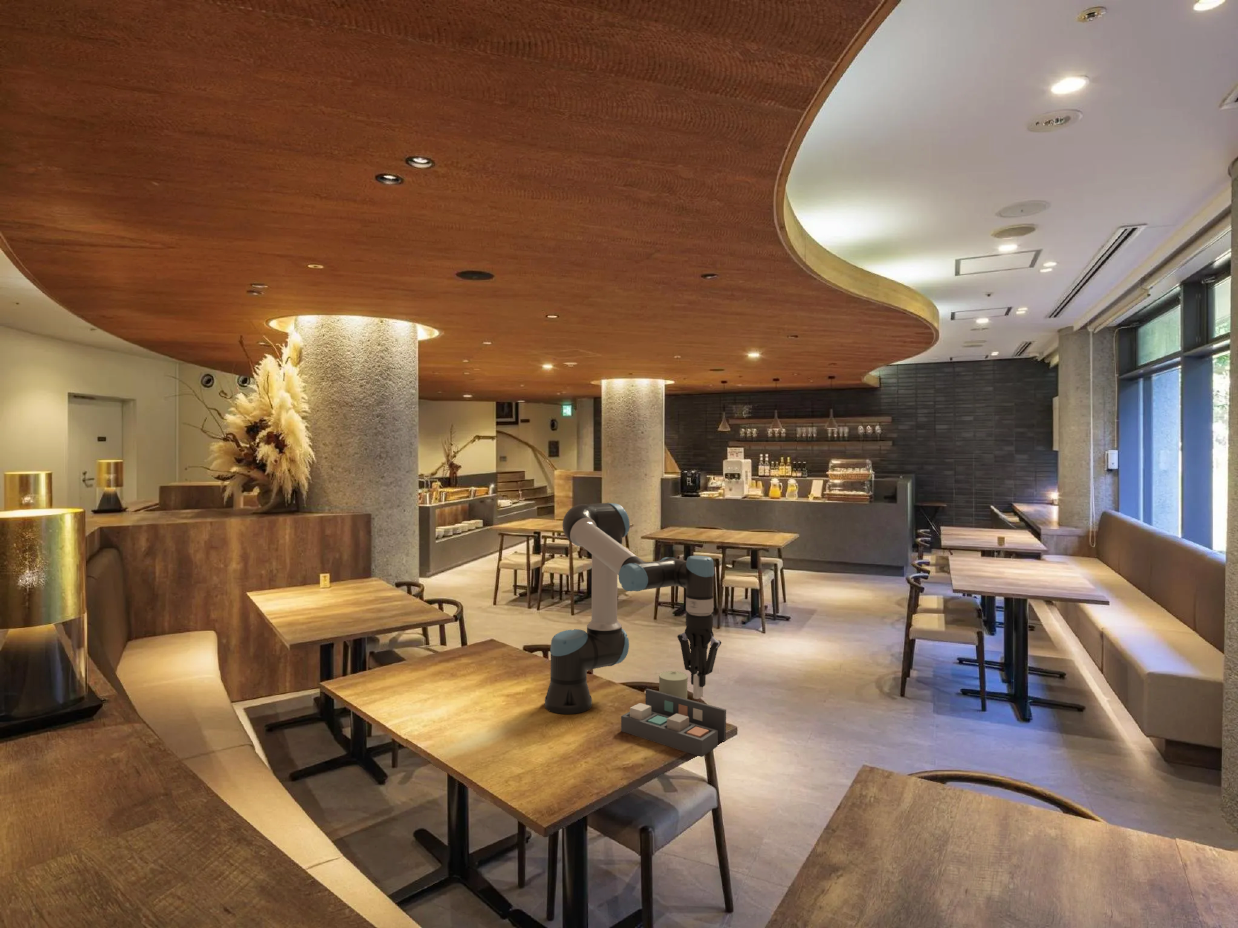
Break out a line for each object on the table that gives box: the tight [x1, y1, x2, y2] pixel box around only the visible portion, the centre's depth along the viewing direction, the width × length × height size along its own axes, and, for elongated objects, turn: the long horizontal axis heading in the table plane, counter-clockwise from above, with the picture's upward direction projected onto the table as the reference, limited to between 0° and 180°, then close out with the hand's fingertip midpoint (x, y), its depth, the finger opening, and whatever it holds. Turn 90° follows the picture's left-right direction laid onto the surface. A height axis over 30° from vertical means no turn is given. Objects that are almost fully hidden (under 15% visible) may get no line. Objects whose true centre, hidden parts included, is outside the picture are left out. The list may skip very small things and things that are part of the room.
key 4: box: [687, 727, 709, 738], centre depth 190 cm, size 4×5×4 cm
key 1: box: [629, 702, 651, 720], centre depth 202 cm, size 4×5×4 cm
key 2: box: [648, 715, 667, 726], centre depth 198 cm, size 4×5×4 cm
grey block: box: [667, 713, 689, 732], centre depth 194 cm, size 4×5×4 cm
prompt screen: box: [644, 688, 727, 743], centre depth 202 cm, size 27×1×9 cm, turn 53°
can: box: [658, 670, 689, 699], centre depth 216 cm, size 9×9×12 cm
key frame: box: [620, 711, 719, 758], centre depth 196 cm, size 27×9×4 cm, turn 53°
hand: (697, 697), depth 190 cm, fingers closed
